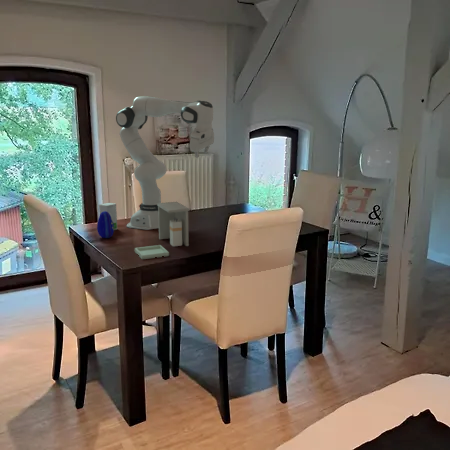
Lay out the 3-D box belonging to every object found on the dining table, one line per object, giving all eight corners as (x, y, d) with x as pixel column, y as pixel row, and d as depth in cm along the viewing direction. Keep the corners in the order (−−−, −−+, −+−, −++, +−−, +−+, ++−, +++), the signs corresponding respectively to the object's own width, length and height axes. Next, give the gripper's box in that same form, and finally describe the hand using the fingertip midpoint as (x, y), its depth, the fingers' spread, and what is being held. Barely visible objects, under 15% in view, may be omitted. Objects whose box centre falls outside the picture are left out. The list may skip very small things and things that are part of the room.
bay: (169, 248, 253) (168, 210, 248) (158, 239, 270) (157, 203, 265) (189, 246, 258) (189, 208, 253) (177, 236, 275) (176, 201, 270)
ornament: (114, 239, 268) (113, 213, 264) (97, 240, 266) (95, 213, 263) (114, 234, 279) (113, 208, 275) (98, 235, 277) (96, 209, 273)
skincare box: (107, 232, 284) (106, 205, 280) (99, 230, 287) (98, 204, 283) (118, 229, 291) (116, 203, 287) (109, 227, 294) (108, 202, 290)
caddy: (173, 246, 257) (172, 219, 253) (170, 243, 261) (169, 217, 258) (182, 245, 259) (181, 218, 255) (179, 242, 263) (178, 216, 260)
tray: (142, 259, 236) (141, 255, 235) (134, 251, 248) (134, 248, 247) (168, 255, 241) (168, 252, 241) (160, 248, 253) (160, 244, 253)
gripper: (208, 125, 279) (206, 148, 286) (188, 134, 263) (186, 158, 270) (217, 128, 276) (215, 151, 283) (198, 137, 260) (196, 161, 267)
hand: (201, 154), depth 276 cm, fingers open, 8 cm apart
